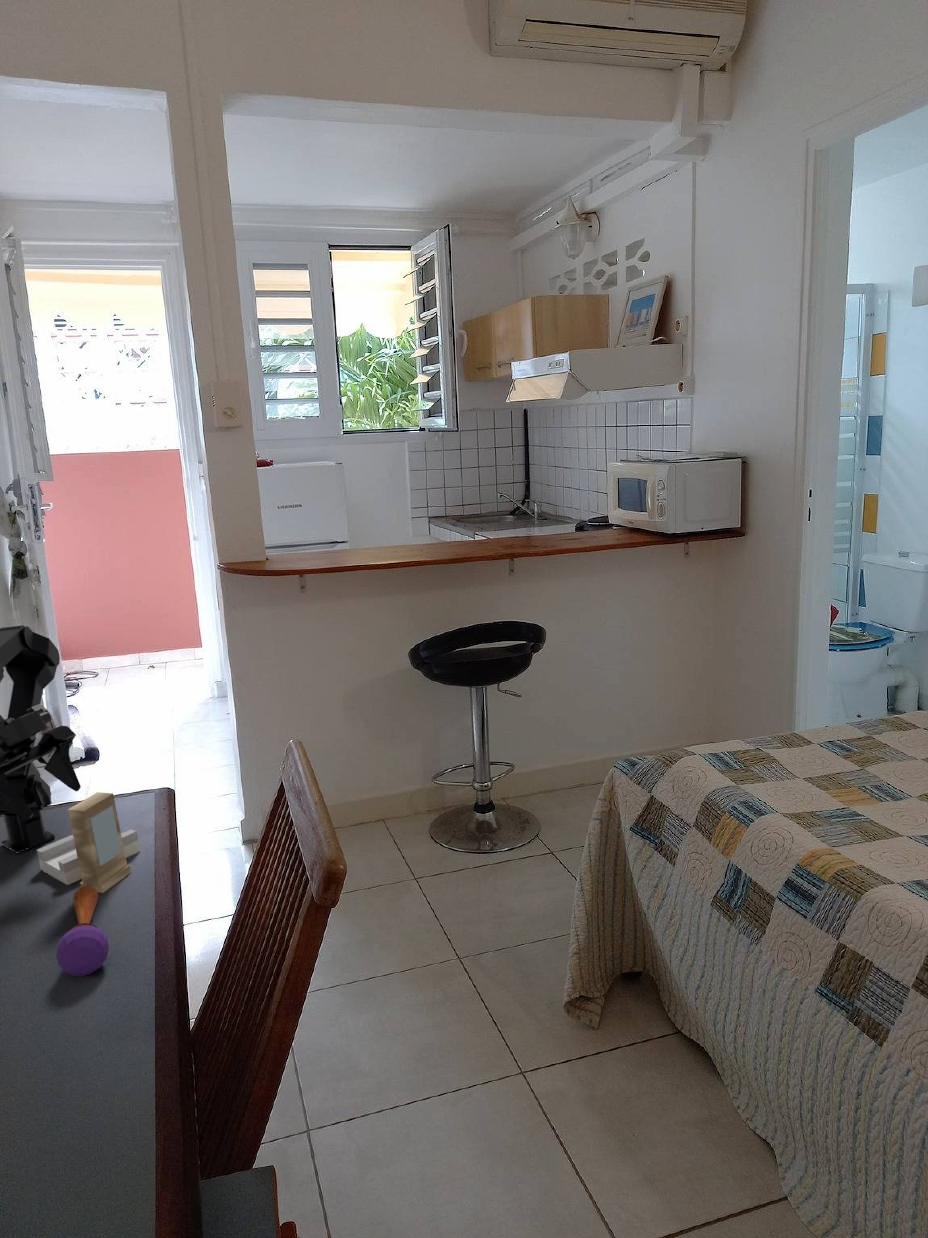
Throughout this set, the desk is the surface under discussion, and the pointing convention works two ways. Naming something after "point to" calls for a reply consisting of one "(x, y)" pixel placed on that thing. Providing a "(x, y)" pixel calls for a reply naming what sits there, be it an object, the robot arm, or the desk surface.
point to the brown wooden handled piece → (83, 938)
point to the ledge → (76, 873)
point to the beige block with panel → (98, 842)
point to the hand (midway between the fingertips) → (55, 802)
